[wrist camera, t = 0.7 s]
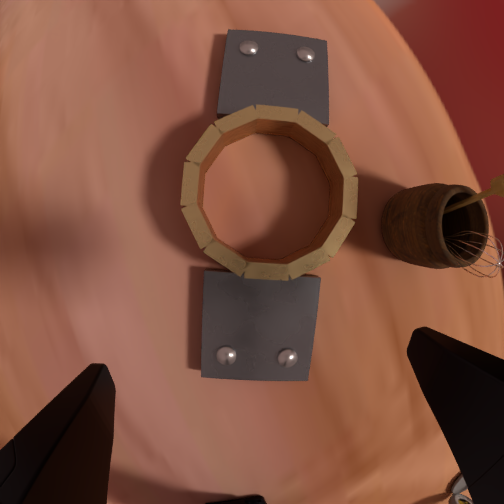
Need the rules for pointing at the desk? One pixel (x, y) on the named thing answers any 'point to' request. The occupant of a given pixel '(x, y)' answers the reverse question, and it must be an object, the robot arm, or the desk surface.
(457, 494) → the pocket watch
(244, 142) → the desk surface
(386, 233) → the utensil holder
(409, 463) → the desk surface
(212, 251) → the wooden ring bracket
